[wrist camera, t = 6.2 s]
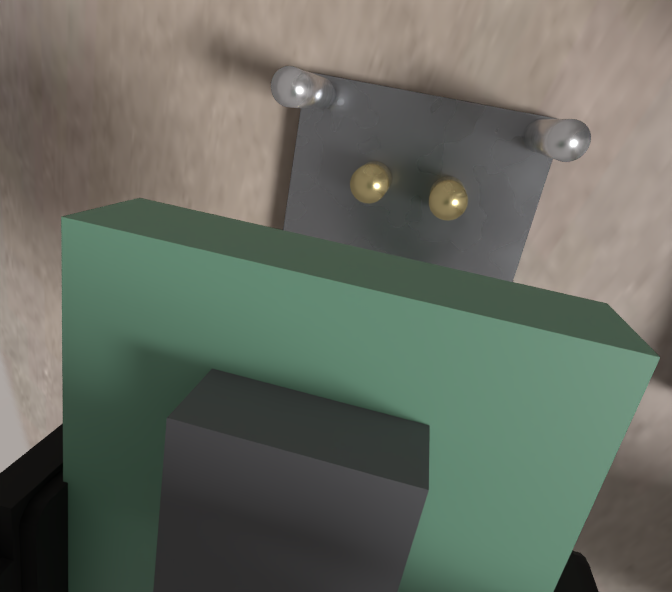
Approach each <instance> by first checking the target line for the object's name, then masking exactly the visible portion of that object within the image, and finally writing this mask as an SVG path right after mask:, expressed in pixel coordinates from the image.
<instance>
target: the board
mask: <svg viewBox="0 0 672 592" xmlns="http://www.w3.org/2000/svg"><path fill="white" fill-rule="evenodd" d="M61 233H62V376H63V481H64V482H67V483H68V592H553V591H554V589H555V587H556V585H557V583H558V580H559V578H560V576H561V574H562V572H563V569H564V567H565V565H566V563H567V561H568V559H569V556H570V554H571V552H572V550H573V548H574V545H575V543H576V541H577V539H578V537H579V534H580V532H581V530H582V528H583V526H584V523H585V521H586V519H587V517H588V515H589V513H590V510H591V508H592V506H593V504H594V502H595V499H596V497H597V495H598V493H599V491H600V488H601V486H602V484H603V482H604V480H605V477H606V475H607V473H608V471H609V469H610V467H611V464H612V462H613V460H614V458H615V456H616V453H617V451H618V449H619V447H620V445H621V442H622V440H623V438H624V436H625V434H626V432H627V429H628V427H629V425H630V423H631V421H632V418H633V416H634V414H635V412H636V410H637V407H638V405H639V403H640V401H641V399H642V396H643V394H644V392H645V390H646V388H647V386H648V383H649V381H650V379H651V377H652V375H653V372H654V370H655V368H656V366H657V364H658V361H659V359H660V357H659V356H658V354H657V353H656V352H655V351H654V350H653V349H652V348H651V347H650V346H649V345H648V344H647V343H646V342H645V341H644V340H643V339H642V338H641V337H640V336H639V335H638V334H637V333H636V332H635V331H634V330H633V329H632V328H631V327H630V326H629V325H628V324H627V323H626V322H625V321H624V320H623V319H622V318H621V317H620V316H619V315H618V314H617V313H616V312H615V311H614V310H613V309H612V308H611V307H610V306H609V305H608V304H607V303H603V302H598V301H594V300H589V299H585V298H581V297H576V296H572V295H567V294H563V293H558V292H554V291H550V290H545V289H541V288H536V287H532V286H528V285H523V284H519V283H514V282H510V281H505V280H501V279H497V278H492V277H488V276H483V275H479V274H474V273H470V272H466V271H461V270H457V269H452V268H448V267H444V266H439V265H435V264H430V263H426V262H421V261H417V260H413V259H408V258H404V257H399V256H395V255H390V254H386V253H382V252H377V251H373V250H368V249H364V248H359V247H355V246H351V245H346V244H342V243H337V242H333V241H329V240H324V239H320V238H315V237H311V236H306V235H302V234H298V233H293V232H289V231H284V230H280V229H275V228H271V227H267V226H262V225H258V224H253V223H249V222H245V221H240V220H236V219H231V218H227V217H222V216H218V215H214V214H209V213H205V212H200V211H196V210H191V209H187V208H183V207H178V206H174V205H169V204H165V203H160V202H156V201H152V200H147V199H143V198H137V199H133V200H129V201H125V202H120V203H116V204H112V205H108V206H104V207H100V208H95V209H91V210H87V211H83V212H79V213H75V214H70V215H66V216H62V217H61Z"/></svg>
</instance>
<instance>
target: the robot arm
mask: <svg viewBox="0 0 672 592" xmlns="http://www.w3.org/2000/svg"><path fill="white" fill-rule="evenodd" d="M0 592H68V483H67V482H64V481H63V424H62V425H60V426H59V427H58V428H56V429H55V430H54V431H53V432H51V433H50V434H49V435H48V436H46V437H45V438H44V439H43V440H41V441H40V442H39V443H38V444H36V445H35V446H34V447H33V448H31V449H30V450H29V451H28V452H26V453H25V454H24V455H23V456H21V457H20V458H19V459H18V460H16V461H15V462H14V463H13V464H11V465H10V466H9V467H8V468H6V469H5V470H4V471H3V472H1V473H0ZM553 592H598V589H597V586H596V583H595V580H594V578H593V575H592V572H591V569H590V566H589V564H588V562H587V560H586V558H585V557H584V556H583V555H582V554H581V553H579V552H575V551H573V550H572V552H571V554H570V556H569V559H568V561H567V563H566V565H565V567H564V569H563V572H562V574H561V576H560V578H559V580H558V583H557V585H556V587H555V589H554V591H553Z"/></svg>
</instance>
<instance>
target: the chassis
mask: <svg viewBox="0 0 672 592" xmlns="http://www.w3.org/2000/svg"><path fill="white" fill-rule="evenodd" d="M271 91H272V94H273V97H274V98H275V100H276V101H277V102H278V103H279V104H281V105H282V106H285V107H292V108H301V111H300V118H299V125H298V132H297V139H296V146H295V153H294V160H293V166H292V173H291V180H290V187H289V194H288V201H287V208H286V215H285V221H284V228H283V230H284V231H289V232H293V233H298V234H302V235H306V236H311V237H315V238H320V239H324V240H329V241H333V242H337V243H342V244H346V245H351V246H355V247H359V248H364V249H368V250H373V251H377V252H382V253H386V254H390V255H395V256H399V257H404V258H408V259H413V260H417V261H421V262H426V263H430V264H435V265H439V266H444V267H448V268H452V269H457V270H461V271H466V272H470V273H474V274H479V275H483V276H488V277H492V278H497V279H501V280H505V281H510V282H513V279H514V276H515V273H516V270H517V267H518V264H519V260H520V257H521V254H522V251H523V248H524V245H525V242H526V239H527V236H528V233H529V230H530V227H531V224H532V221H533V218H534V215H535V212H536V208H537V205H538V202H539V199H540V196H541V193H542V190H543V187H544V184H545V181H546V178H547V175H548V172H549V169H550V166H551V163H552V160H553V159H556V160H558V161H562V162H570V161H574V160H576V159H578V158H580V157H581V156H582V155H583V154H584V153H585V152H586V151H587V149H588V148H589V145H590V141H591V134H590V131H589V128H588V127H587V126H586V124H584V123H583V122H581V121H579V120H575V119H556V118H551V117H545V116H540V115H535V114H529V113H524V112H519V111H514V110H508V109H503V108H498V107H492V106H487V105H482V104H476V103H471V102H466V101H460V100H455V99H450V98H445V97H439V96H434V95H429V94H423V93H418V92H413V91H407V90H402V89H397V88H392V87H386V86H381V85H376V84H370V83H365V82H360V81H354V80H349V79H344V78H339V77H333V76H328V75H323V74H317V73H312V72H307V71H305V70H302V69H299V68H296V67H293V66H285V67H282V68H280V69H279V70H278V71H277V72H276V73H275V74H274V76H273V78H272V81H271Z"/></svg>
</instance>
